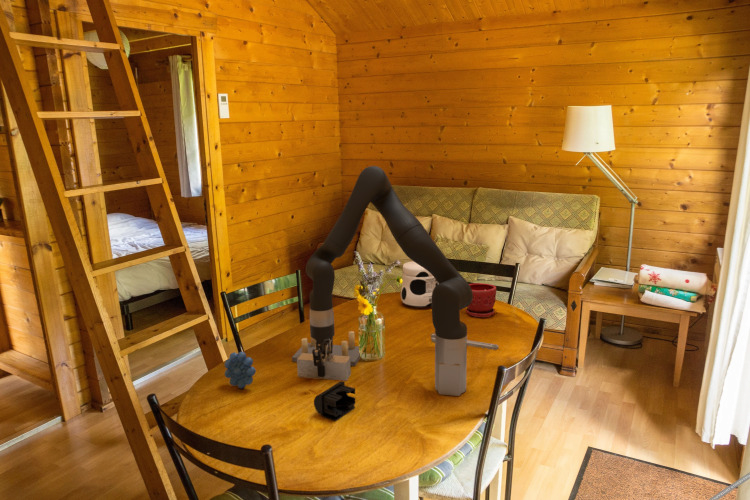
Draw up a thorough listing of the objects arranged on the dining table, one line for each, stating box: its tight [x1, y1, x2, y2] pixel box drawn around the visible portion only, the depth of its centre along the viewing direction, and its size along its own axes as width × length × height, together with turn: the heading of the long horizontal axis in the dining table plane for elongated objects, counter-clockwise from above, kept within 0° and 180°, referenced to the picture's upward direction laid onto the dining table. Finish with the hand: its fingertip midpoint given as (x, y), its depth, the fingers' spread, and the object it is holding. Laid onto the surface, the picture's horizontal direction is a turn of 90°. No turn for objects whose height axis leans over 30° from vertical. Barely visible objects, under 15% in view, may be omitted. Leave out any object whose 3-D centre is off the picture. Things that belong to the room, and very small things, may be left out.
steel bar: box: [296, 353, 352, 382], centre depth 174 cm, size 5×16×6 cm, turn 78°
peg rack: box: [291, 330, 361, 367], centre depth 189 cm, size 13×22×8 cm, turn 77°
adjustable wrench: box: [430, 333, 499, 351], centre depth 198 cm, size 25×6×2 cm, turn 60°
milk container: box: [400, 260, 439, 309], centre depth 242 cm, size 17×17×18 cm
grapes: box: [224, 351, 256, 389], centre depth 167 cm, size 12×7×12 cm, turn 63°
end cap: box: [313, 380, 356, 422], centre depth 152 cm, size 10×7×7 cm
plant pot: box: [465, 282, 497, 318], centre depth 228 cm, size 13×13×12 cm
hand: (324, 372), depth 175 cm, fingers closed on steel bar, 5 cm apart
